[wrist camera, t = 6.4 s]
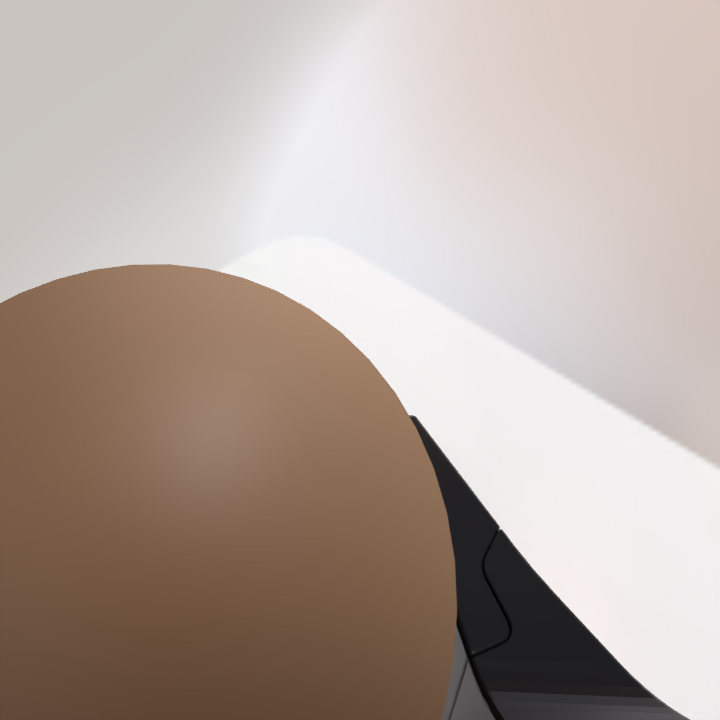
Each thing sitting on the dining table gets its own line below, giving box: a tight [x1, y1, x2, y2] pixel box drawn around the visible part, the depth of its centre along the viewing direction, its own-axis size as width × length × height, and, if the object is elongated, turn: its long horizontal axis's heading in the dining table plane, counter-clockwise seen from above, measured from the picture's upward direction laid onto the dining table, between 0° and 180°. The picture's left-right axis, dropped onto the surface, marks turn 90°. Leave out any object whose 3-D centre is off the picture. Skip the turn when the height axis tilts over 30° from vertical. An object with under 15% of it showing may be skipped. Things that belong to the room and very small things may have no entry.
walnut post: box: [0, 265, 457, 720], centre depth 9 cm, size 5×5×13 cm
